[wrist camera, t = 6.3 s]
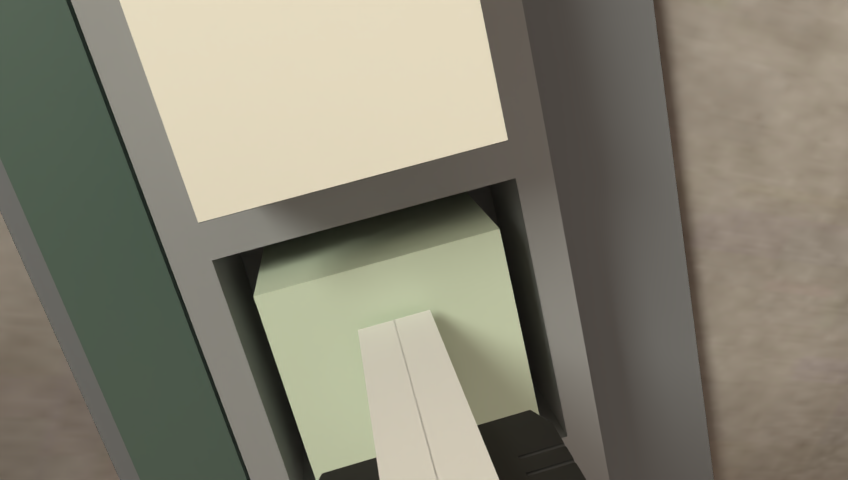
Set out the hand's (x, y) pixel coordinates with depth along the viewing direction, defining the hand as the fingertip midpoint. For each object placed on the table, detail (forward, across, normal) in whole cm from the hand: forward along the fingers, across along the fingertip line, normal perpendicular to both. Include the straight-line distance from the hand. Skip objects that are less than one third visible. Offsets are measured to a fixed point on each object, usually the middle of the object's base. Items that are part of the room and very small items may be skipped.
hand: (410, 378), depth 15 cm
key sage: (+4, 0, 0) cm, 4 cm away
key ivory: (+2, 0, +7) cm, 7 cm away
